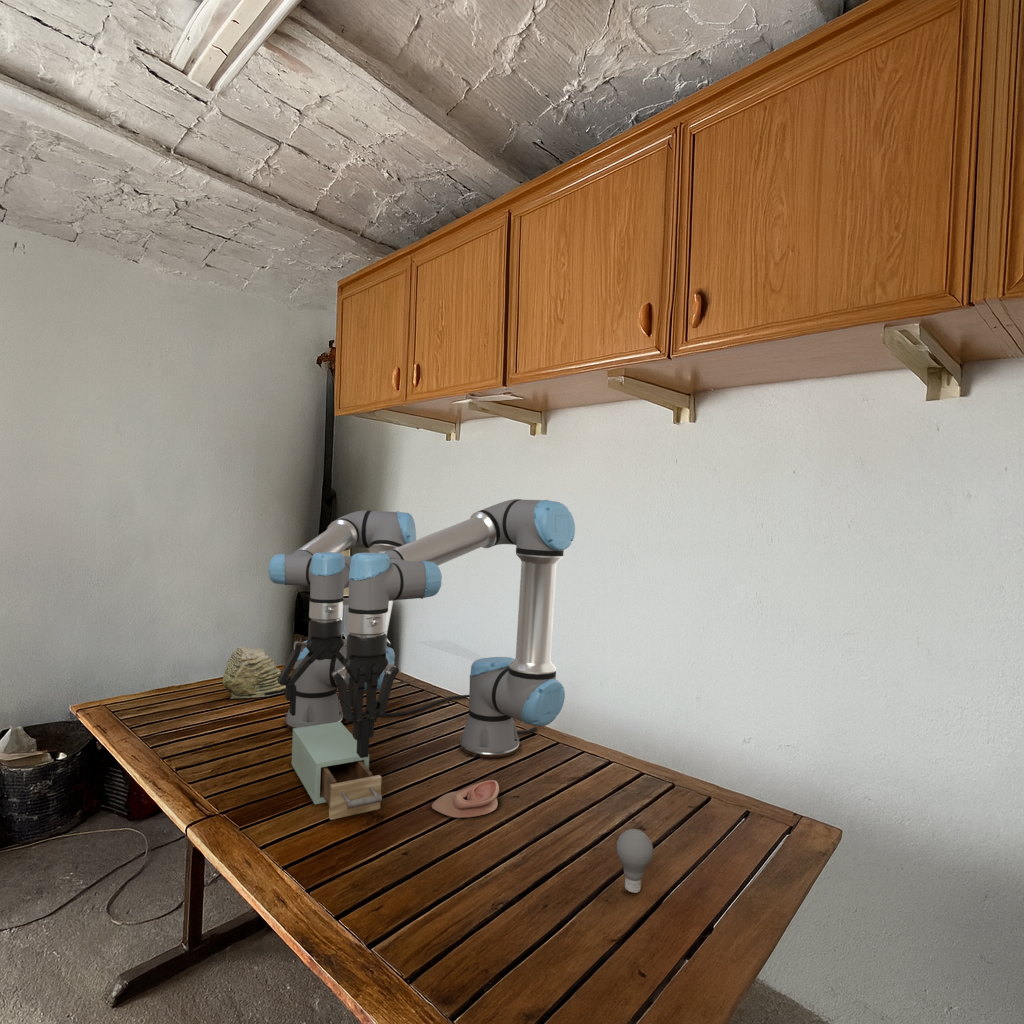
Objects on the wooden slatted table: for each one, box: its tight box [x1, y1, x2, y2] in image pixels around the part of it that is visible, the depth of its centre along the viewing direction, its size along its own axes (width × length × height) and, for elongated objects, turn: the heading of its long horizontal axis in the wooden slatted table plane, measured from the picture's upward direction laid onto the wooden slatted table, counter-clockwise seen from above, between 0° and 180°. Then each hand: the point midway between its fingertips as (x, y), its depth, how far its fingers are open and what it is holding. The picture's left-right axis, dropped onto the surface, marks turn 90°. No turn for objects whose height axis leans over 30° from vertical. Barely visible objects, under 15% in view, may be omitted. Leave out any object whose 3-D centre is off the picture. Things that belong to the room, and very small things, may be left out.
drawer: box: [320, 760, 383, 821], centre depth 131 cm, size 26×10×6 cm, turn 31°
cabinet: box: [291, 722, 370, 805], centre depth 142 cm, size 22×11×9 cm, turn 31°
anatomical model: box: [431, 779, 500, 819], centre depth 132 cm, size 13×4×12 cm
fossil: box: [222, 646, 286, 699], centre depth 198 cm, size 9×18×15 cm, turn 132°
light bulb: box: [615, 828, 654, 894], centre depth 106 cm, size 6×6×10 cm
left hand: (322, 709), depth 148 cm, fingers open, 13 cm apart
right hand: (362, 754), depth 122 cm, fingers closed
